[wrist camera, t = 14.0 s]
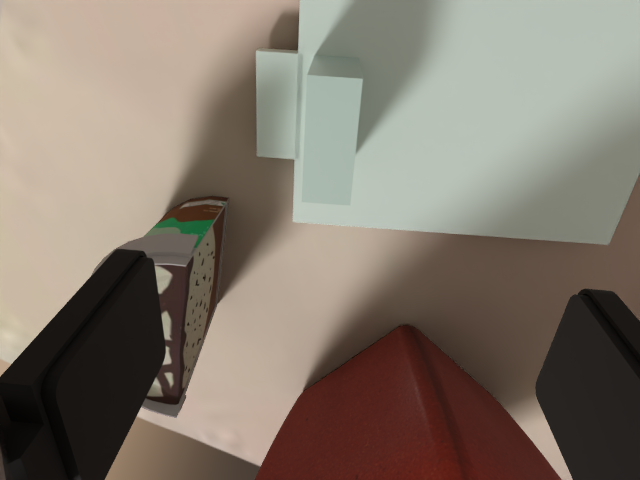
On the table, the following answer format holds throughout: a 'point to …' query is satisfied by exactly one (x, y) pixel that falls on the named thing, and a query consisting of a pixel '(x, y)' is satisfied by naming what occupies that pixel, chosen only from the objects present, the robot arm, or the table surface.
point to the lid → (458, 115)
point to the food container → (183, 290)
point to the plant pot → (401, 423)
